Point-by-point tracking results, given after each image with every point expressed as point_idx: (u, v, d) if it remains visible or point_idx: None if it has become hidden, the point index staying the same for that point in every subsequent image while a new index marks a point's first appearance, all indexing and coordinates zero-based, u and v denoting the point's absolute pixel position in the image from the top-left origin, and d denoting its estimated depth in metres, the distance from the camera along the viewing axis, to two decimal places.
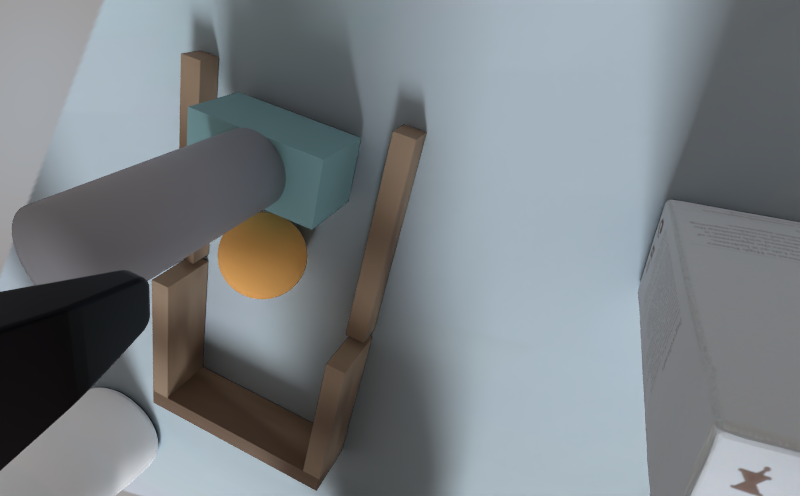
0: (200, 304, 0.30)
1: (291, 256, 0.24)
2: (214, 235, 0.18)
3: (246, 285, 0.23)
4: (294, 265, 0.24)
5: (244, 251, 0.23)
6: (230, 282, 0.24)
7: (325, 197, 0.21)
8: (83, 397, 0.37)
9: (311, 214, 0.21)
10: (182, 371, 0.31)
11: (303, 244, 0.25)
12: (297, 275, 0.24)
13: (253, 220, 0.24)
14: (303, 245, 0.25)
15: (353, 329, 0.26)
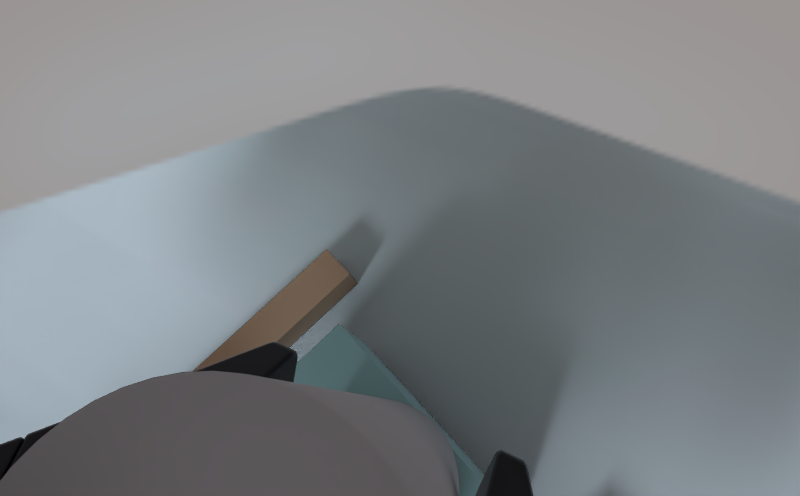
0: None
1: None
2: None
3: None
4: None
5: None
6: None
7: None
8: None
9: None
10: None
11: None
12: None
13: None
14: None
15: None
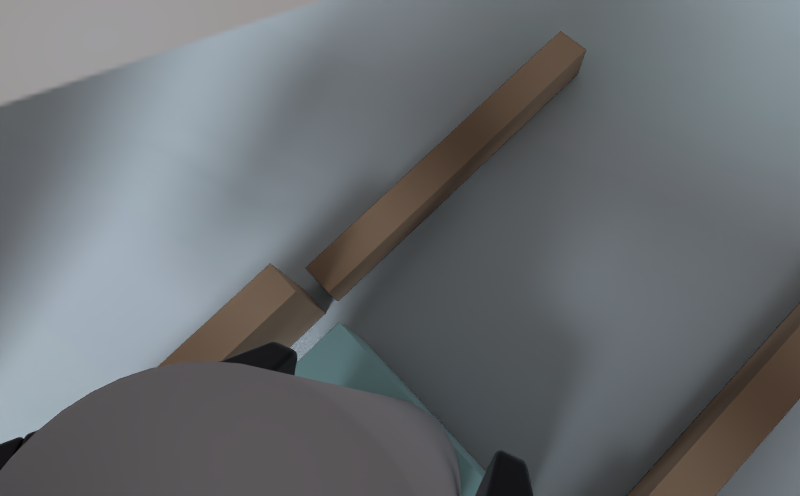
0: None
1: None
2: None
3: None
4: None
5: None
6: None
7: None
8: None
9: None
10: None
11: None
12: None
13: None
14: None
15: None
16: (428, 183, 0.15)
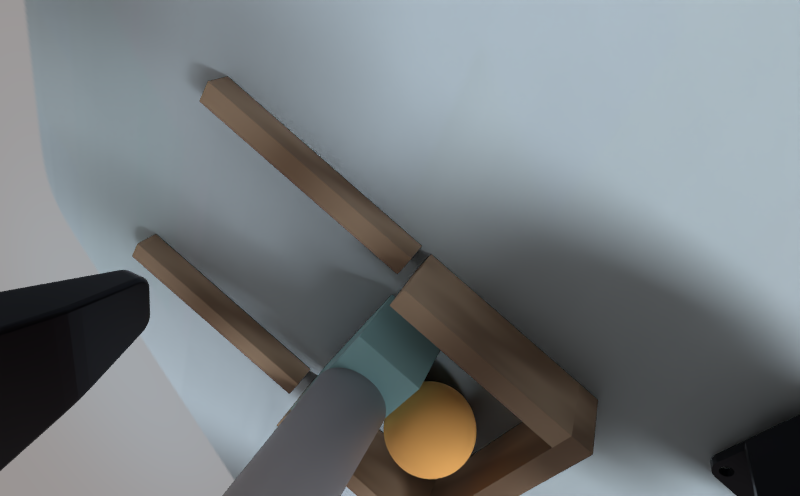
0: None
1: (460, 394, 0.23)
2: (331, 468, 0.18)
3: None
4: (458, 395, 0.23)
5: None
6: None
7: (403, 357, 0.21)
8: None
9: (405, 379, 0.20)
10: (406, 492, 0.26)
11: (474, 419, 0.23)
12: (453, 402, 0.22)
13: None
14: (474, 418, 0.23)
15: (391, 260, 0.21)
16: (231, 331, 0.27)
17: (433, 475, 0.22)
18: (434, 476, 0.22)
